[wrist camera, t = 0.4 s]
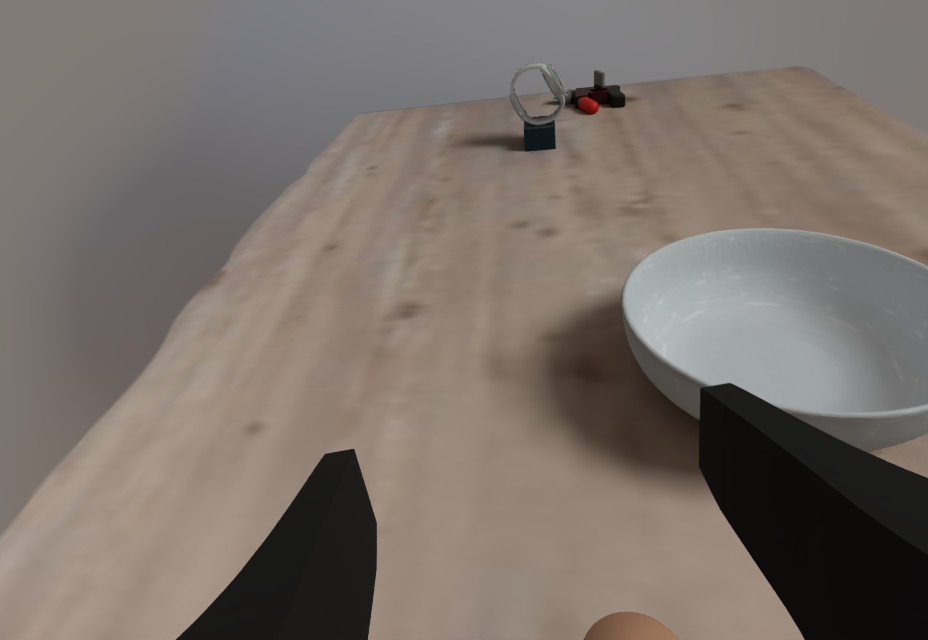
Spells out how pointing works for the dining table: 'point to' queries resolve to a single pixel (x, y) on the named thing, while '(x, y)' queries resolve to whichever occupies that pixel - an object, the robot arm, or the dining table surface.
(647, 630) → the tan wooden cylinder
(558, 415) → the dining table surface
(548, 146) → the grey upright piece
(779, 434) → the robot arm
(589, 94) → the toy gun
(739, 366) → the serving bowl
